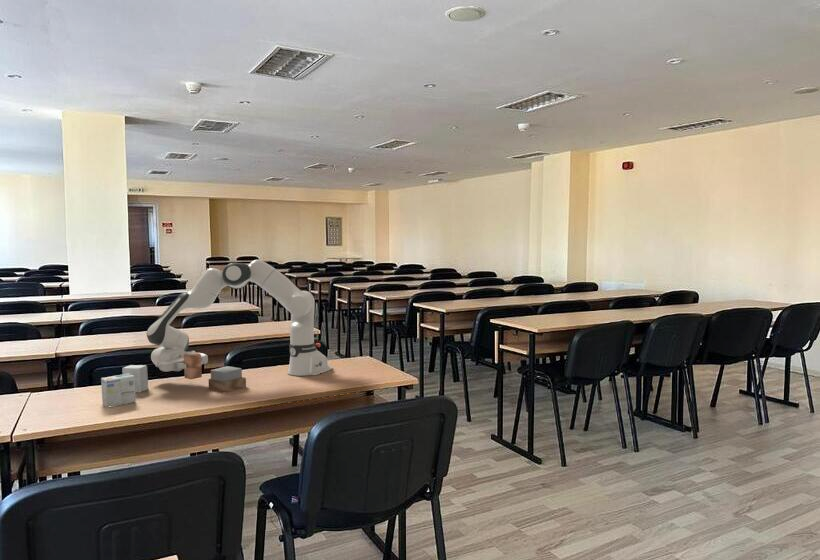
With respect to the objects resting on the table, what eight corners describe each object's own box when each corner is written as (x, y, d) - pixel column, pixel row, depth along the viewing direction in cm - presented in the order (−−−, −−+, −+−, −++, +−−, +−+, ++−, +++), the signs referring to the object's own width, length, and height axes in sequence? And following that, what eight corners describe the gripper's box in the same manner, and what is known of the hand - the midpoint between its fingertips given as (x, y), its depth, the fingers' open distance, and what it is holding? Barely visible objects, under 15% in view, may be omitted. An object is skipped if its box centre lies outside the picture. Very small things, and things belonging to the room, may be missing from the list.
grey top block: (227, 375, 245) (227, 366, 245) (241, 377, 240) (241, 368, 240) (210, 379, 237) (210, 370, 237) (225, 382, 233) (225, 372, 232)
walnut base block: (230, 384, 247) (230, 374, 246) (246, 387, 240) (245, 377, 240) (208, 389, 238) (208, 379, 238) (224, 393, 231) (223, 383, 231)
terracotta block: (195, 375, 238) (194, 352, 238) (201, 377, 235) (200, 353, 235) (184, 377, 235) (183, 354, 234) (191, 379, 232) (190, 356, 231)
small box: (148, 389, 237) (147, 365, 237) (140, 392, 232) (139, 368, 231) (130, 388, 238) (129, 364, 237) (122, 392, 233) (121, 367, 232)
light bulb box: (130, 398, 223) (129, 372, 222) (136, 402, 218) (135, 375, 217) (101, 404, 216) (100, 377, 215) (106, 408, 211) (105, 380, 210)
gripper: (152, 357, 234) (170, 362, 226) (196, 349, 250) (214, 353, 242) (153, 372, 234) (170, 377, 226) (197, 363, 251) (215, 367, 242)
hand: (193, 364), depth 234 cm, fingers closed on terracotta block, 5 cm apart
